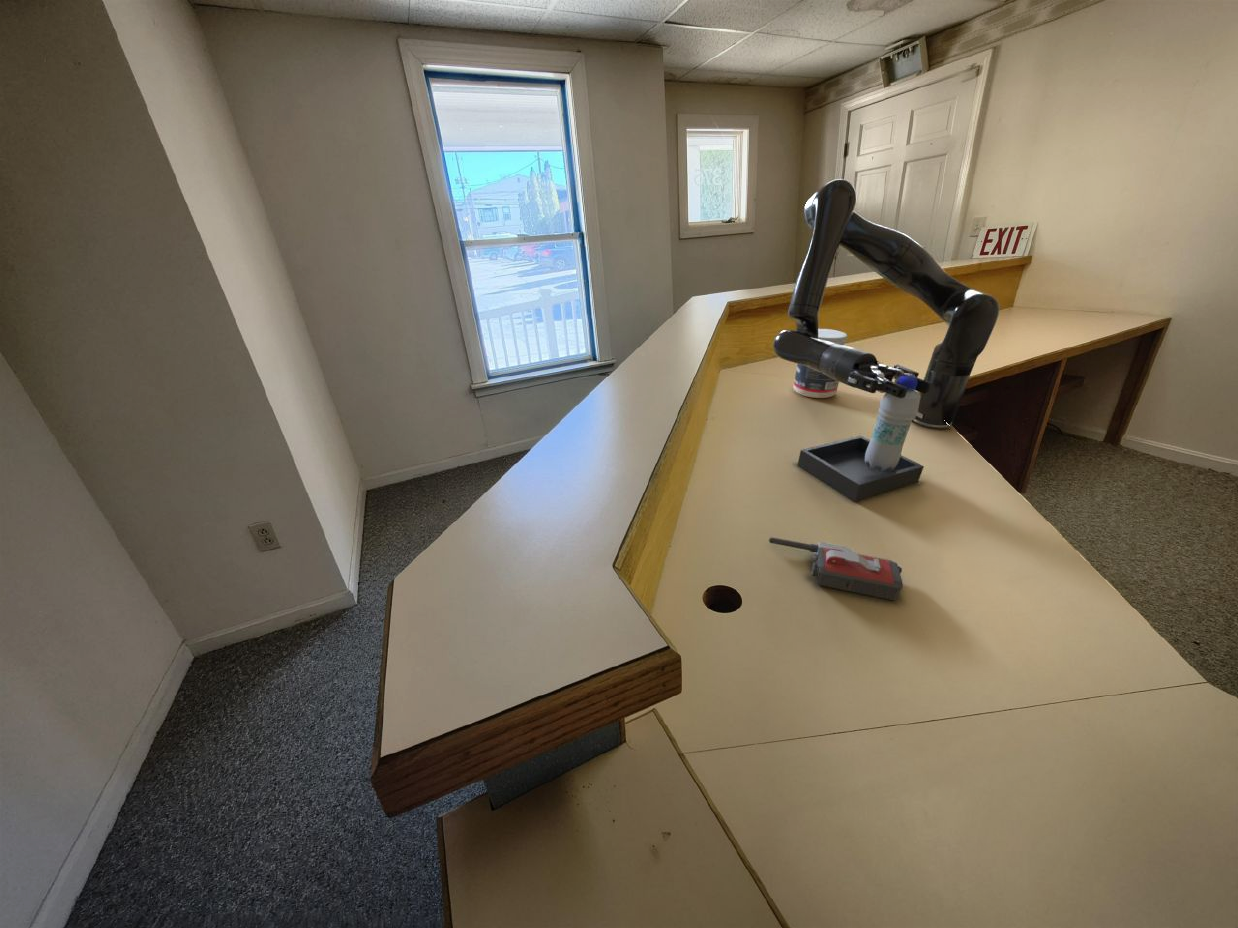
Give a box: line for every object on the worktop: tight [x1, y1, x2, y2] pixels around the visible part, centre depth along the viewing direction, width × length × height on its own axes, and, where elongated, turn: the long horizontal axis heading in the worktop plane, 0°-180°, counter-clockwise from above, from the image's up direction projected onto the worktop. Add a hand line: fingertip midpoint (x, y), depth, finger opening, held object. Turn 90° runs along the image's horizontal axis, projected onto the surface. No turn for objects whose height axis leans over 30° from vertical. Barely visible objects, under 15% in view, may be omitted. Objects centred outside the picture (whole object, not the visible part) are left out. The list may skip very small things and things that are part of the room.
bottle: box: [865, 376, 921, 472], centre depth 91 cm, size 7×7×20 cm
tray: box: [797, 435, 925, 503], centre depth 98 cm, size 18×16×4 cm
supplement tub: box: [792, 328, 848, 399], centre depth 137 cm, size 13×13×18 cm
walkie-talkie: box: [768, 536, 904, 601], centre depth 72 cm, size 9×4×20 cm
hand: (917, 390), depth 85 cm, fingers closed on bottle, 5 cm apart
